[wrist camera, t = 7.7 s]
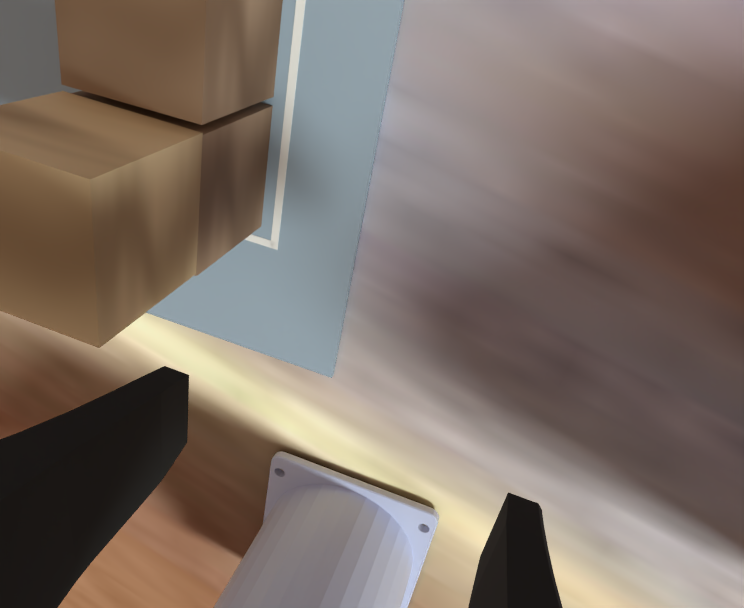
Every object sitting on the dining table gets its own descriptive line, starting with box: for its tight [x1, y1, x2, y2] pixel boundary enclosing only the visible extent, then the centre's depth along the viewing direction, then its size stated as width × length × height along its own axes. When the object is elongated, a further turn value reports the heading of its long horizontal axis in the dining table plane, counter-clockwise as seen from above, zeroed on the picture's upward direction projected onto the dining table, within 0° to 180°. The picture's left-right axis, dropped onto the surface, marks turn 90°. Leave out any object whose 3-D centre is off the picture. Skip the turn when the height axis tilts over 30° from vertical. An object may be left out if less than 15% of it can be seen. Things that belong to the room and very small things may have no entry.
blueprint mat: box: [0, 0, 404, 378], centre depth 23 cm, size 16×20×1 cm
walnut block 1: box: [55, 0, 283, 125], centre depth 18 cm, size 4×4×4 cm
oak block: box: [0, 91, 203, 348], centre depth 16 cm, size 4×4×4 cm
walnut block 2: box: [72, 91, 273, 276], centre depth 20 cm, size 4×4×4 cm
